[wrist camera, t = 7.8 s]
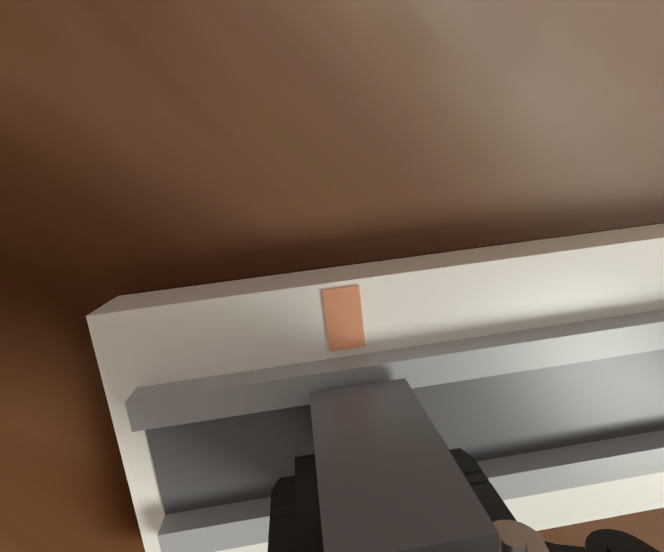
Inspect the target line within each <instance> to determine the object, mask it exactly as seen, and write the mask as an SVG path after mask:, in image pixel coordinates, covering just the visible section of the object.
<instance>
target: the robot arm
mask: <svg viewBox="0 0 664 552" xmlns="http://www.w3.org/2000/svg"><path fill="white" fill-rule="evenodd" d="M439 435H440V434H439ZM441 438H442V437H441ZM442 440H443V439H442ZM443 441H444V440H443ZM444 443H445V442H444ZM445 445H446V444H445ZM446 446H447V445H446ZM447 448H448V447H447ZM448 450H449V449H448ZM449 451H450V453H451V455H452V456H453V458H454V460H455V461H456V463H457V464H458V466H459V468H460V469H461V471H462V473H463V474H464V476H465V478H466V479H467V481H468V483H469V484H470V486H471V488H472V489H473V491H474V493H475V494H476V496H477V497H478V499H479V501H480V502H481V504H482V506H483V507H484V509H485V511H486V512H487V514H488V516H489V517H490V519H491V521H492V522H493V524H494V526H495V527H496V529H497V530H498V532H499V550H500V552H660V551H658V550H656V549H655V548H653V547H651V546H650V545H648V544H646V543H645V542H643V541H641V540H640V539H638V538H636V537H634V536H632V535H630V534H628V533H625V532H622V531H618V530H612V529H601V530H596V531H594V532H592V533H590V534H589V535H588V536H587V538H586V542H585V547H578V546H568V545H559V544H553V543H549V542H546V541H544V540H543V539H542V537H541V536H540V535H539V534H538V533H537V532H536V531H535V530H534V529H532V528H531V527H529V526H527V525H525V524H523V523H521V522H517V521H516V519H515V518H514V516H513V515H512V513H511V512H510V510H509V509H508V507H507V506H506V504H505V503H504V501H503V500H502V498H501V497H500V496H499V494H498V493H497V491H496V490H495V488H494V487H493V485H492V484H491V483H490V482H489V479H488V478H487V476H486V475H485V473H484V472H482V469H481V468H480V466H479V465H478V463H477V462H476V460H475V459H474V457H472V456H471V455H469V454H468V453H466V452H465V451H463V450H462V449H461V448H457V449H451V450H449ZM270 507H271V509H270V521H269V535H268V552H324V548H323V537H322V526H321V515H320V505H319V494H318V483H317V472H316V462H315V454H311V455H304V456H298V457H295V475H294V476H288V477H282V478H279V479H278V481H277V482H276V484H275V486H274V488H273V489H272V491H271V503H270Z"/></svg>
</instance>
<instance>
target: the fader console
mask: <svg viewBox="0 0 664 552" xmlns="http://www.w3.org/2000/svg"><path fill="white" fill-rule="evenodd" d="M86 319H87V323H88V327H89V331H90V335H91V339H92V343H93V347H94V351H95V354H96V358H97V362H98V366H99V370H100V374H101V378H102V382H103V386H104V390H105V394H106V398H107V402H108V406H109V410H110V414H111V418H112V422H113V426H114V430H115V433H116V437H117V441H118V445H119V449H120V453H121V457H122V461H123V465H124V469H125V473H126V477H127V481H128V485H129V489H130V493H131V497H132V501H133V505H134V509H135V512H136V516H137V520H138V524H139V528H140V532H141V536H142V540H143V544H144V548H145V552H268V535H269V521H270V509H271V507H270V503H271V491H272V489H273V488H274V486H275V484H276V482H277V481H278V479H279V478H282V477H288V476H294V475H295V457H298V456H304V455H311V454H315V451H314V440H313V429H312V419H311V408H310V397H309V393H312V392H319V391H325V390H332V389H338V388H345V387H351V386H358V385H364V384H371V383H377V382H384V381H390V380H397V379H403V378H405V379H406V380H407V382H408V384H409V385H410V387H411V389H412V390H413V392H414V394H415V395H416V397H417V399H418V400H419V402H420V403H421V405H422V407H423V408H424V410H425V412H426V413H427V415H428V417H429V418H430V420H431V422H432V423H433V425H434V427H435V428H436V430H437V431H438V433H439V434H440V436H441V437H442V439H443V440H444V442H445V444H446V445H447V447H448V449H449V450H451V449H457V448H461V449H462V450H463V451H465V452H466V453H468V454H469V455H471V456H472V457H474V459H475V460H476V462H477V463H478V465H479V466H480V468H481V469H482V472H484V473H485V475H486V476H487V478H488V479H489V482H490V483H491V484H492V485H493V487H494V488H495V490H496V491H497V493H498V494H499V496H500V497H501V498H502V500H503V501H504V503H505V504H506V506H507V507H508V509H509V510H510V512H511V513H512V515H513V516H514V518H515V519H516V521H517V522H521V523H523V524H525V525H527V526H529V527H531V528H532V529H534V530H535V531H538V530H544V529H549V528H555V527H560V526H566V525H571V524H576V523H582V522H587V521H593V520H598V519H604V518H609V517H614V516H620V515H625V514H631V513H636V512H642V511H647V510H652V509H658V508H663V507H664V223H662V224H655V225H647V226H640V227H632V228H625V229H617V230H610V231H602V232H595V233H587V234H579V235H572V236H564V237H557V238H549V239H542V240H534V241H527V242H519V243H512V244H504V245H497V246H489V247H482V248H474V249H467V250H459V251H452V252H444V253H437V254H429V255H422V256H414V257H407V258H399V259H392V260H384V261H377V262H369V263H361V264H354V265H346V266H339V267H331V268H324V269H316V270H309V271H301V272H294V273H286V274H279V275H271V276H264V277H256V278H249V279H241V280H234V281H226V282H219V283H211V284H204V285H196V286H189V287H181V288H174V289H166V290H159V291H151V292H143V293H136V294H128V295H121V296H117V297H115V298H114V299H112V300H110V301H109V302H107V303H106V304H104V305H102V306H101V307H99V308H98V309H96V310H94V311H93V312H91V313H90V314H88V315H86Z"/></svg>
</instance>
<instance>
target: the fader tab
mask: <svg viewBox="0 0 664 552" xmlns="http://www.w3.org/2000/svg"><path fill="white" fill-rule="evenodd" d="M309 397H310V408H311V419H312V429H313V440H314V451H315V462H316V472H317V483H318V494H319V505H320V515H321V526H322V537H323V548H324V552H500V550H499V532H498V530H497V529H496V527H495V526H494V524H493V522H492V521H491V519H490V517H489V516H488V514H487V512H486V511H485V509H484V507H483V506H482V504H481V502H480V501H479V499H478V497H477V496H476V494H475V493H474V491H473V489H472V488H471V486H470V484H469V483H468V481H467V479H466V478H465V476H464V474H463V473H462V471H461V469H460V468H459V466H458V464H457V463H456V461H455V460H454V458H453V456H452V455H451V453H450V451H449V450H448V448H447V446H446V445H445V443H444V441H443V440H442V438H441V436H440V435H439V433H438V431H437V430H436V428H435V427H434V425H433V423H432V422H431V420H430V418H429V417H428V415H427V413H426V412H425V410H424V408H423V407H422V405H421V403H420V402H419V400H418V399H417V397H416V395H415V394H414V392H413V390H412V389H411V387H410V385H409V384H408V382H407V380H406V379H405V378H403V379H397V380H390V381H384V382H377V383H371V384H364V385H358V386H351V387H345V388H338V389H332V390H325V391H319V392H312V393H309Z"/></svg>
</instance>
